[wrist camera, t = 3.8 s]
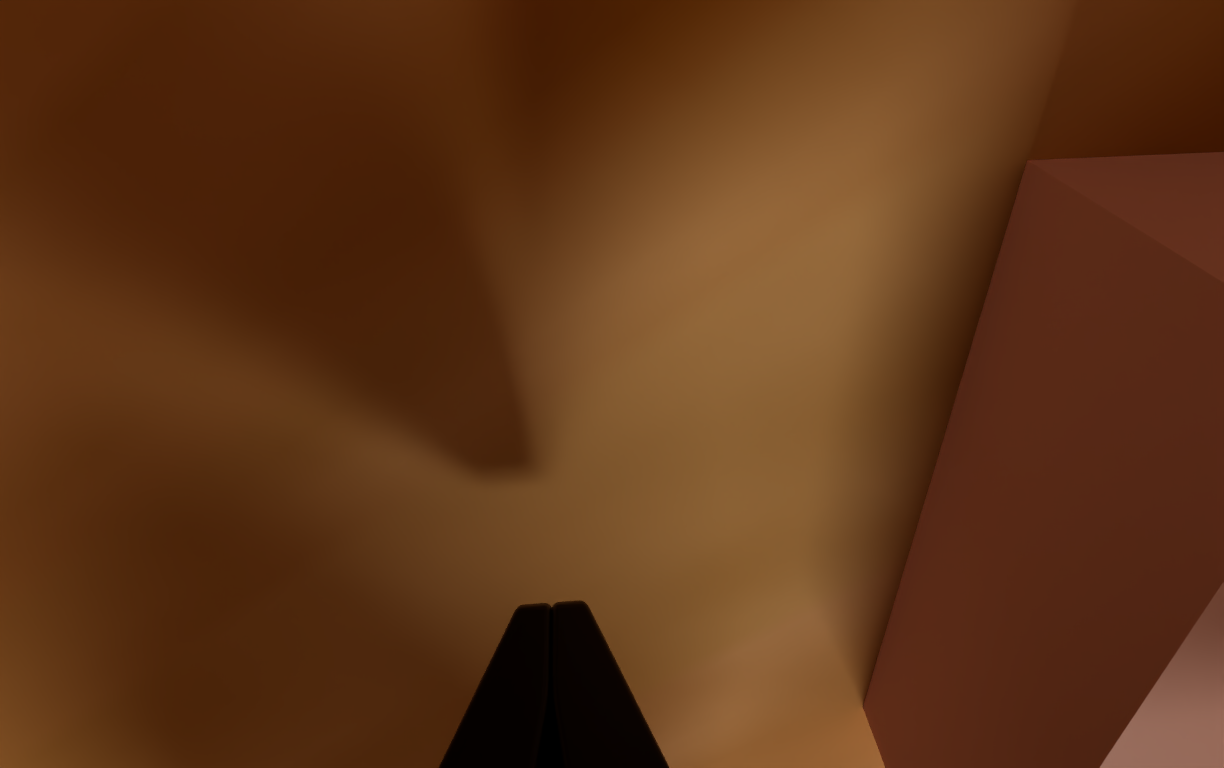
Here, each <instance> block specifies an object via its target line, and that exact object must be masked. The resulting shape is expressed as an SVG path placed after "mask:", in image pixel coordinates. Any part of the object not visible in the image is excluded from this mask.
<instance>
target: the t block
mask: <svg viewBox="0 0 1224 768" xmlns="http://www.w3.org/2000/svg"><path fill="white" fill-rule="evenodd" d="M863 709H864V711H865V714H866V717H867V719H868V722H869V725H870V727H871V730H872V733H873V735H874V738H875V741H876V743H877V746H878V749H879V751H880V754H881V757H882V760H883V762H884V765H885V768H1224V152H1208V153H1185V154H1161V155H1138V156H1114V157H1091V158H1067V159H1044V160H1027V162H1026V166H1025V169H1024V172H1023V176H1022V179H1021V182H1020V186H1019V189H1018V192H1017V196H1016V199H1015V202H1014V206H1013V209H1012V212H1011V216H1010V219H1009V222H1008V226H1007V229H1006V232H1005V236H1004V239H1003V242H1002V246H1001V249H1000V252H999V256H998V259H997V262H996V266H995V269H994V272H993V276H992V279H991V282H990V286H989V289H988V292H987V295H986V299H985V302H984V305H983V309H982V312H981V315H980V319H979V322H978V325H977V329H976V332H975V335H974V339H973V342H972V345H971V349H970V352H969V355H968V359H967V362H966V365H965V369H964V372H963V375H962V379H961V382H960V385H959V389H958V392H957V395H956V399H955V402H954V405H953V409H952V412H951V415H950V419H949V422H948V425H947V429H946V432H945V435H944V439H943V442H942V445H941V449H940V452H939V455H938V459H937V462H936V465H935V468H934V472H933V475H932V478H931V482H930V485H929V488H928V492H927V495H926V498H925V502H924V505H923V508H922V512H921V515H920V518H919V522H918V525H917V528H916V532H915V535H914V538H913V542H912V545H911V548H910V552H909V555H908V558H907V562H906V565H905V568H904V572H903V575H902V578H901V582H900V585H899V588H898V592H897V595H896V598H895V602H894V605H893V608H892V612H891V615H890V618H889V622H888V625H887V628H886V632H885V635H884V638H883V641H882V645H881V648H880V651H879V655H878V658H877V661H876V665H875V668H874V671H873V675H872V678H871V681H870V685H869V688H868V691H867V695H866V698H865V701H864V705H863Z"/></svg>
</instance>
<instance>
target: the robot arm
mask: <svg viewBox="0 0 1224 768" xmlns="http://www.w3.org/2000/svg"><path fill="white" fill-rule="evenodd" d="M439 768H669V766H668V764H667V762H666V760H665V758H664V756H663V754H662V752H661V750H660V748H659V746H658V744H657V742H656V740H655V738H654V736H653V734H652V732H651V730H650V728H649V726H648V724H647V722H646V720H645V718H644V716H643V714H642V712H641V710H640V708H639V706H638V704H637V702H636V700H635V698H634V696H633V694H632V692H631V690H630V688H629V686H628V684H627V682H626V680H625V678H624V676H623V674H622V672H621V670H620V668H619V666H618V664H617V662H616V660H615V658H614V656H613V654H612V652H611V650H610V648H609V646H608V644H607V642H606V640H605V638H604V636H603V634H602V632H601V630H600V628H599V626H598V624H597V622H596V620H595V618H594V616H593V614H592V612H591V610H590V608H589V607H588V605H587V604H586V603H585V602H584V601H566V602H557V603H555V604H554V605H553V607H551V606H550V605H549V604H547V603H539V604H525V605H520V606H519V607H518V608H517V609H516V610H515V612H514V613H513V615H512V617H511V620H510V622H509V624H508V626H507V628H506V630H505V632H504V634H503V636H502V638H501V640H500V642H499V644H498V646H497V648H496V650H495V653H494V655H493V657H492V659H491V661H490V663H489V665H488V667H487V669H486V671H485V673H484V675H483V677H482V679H481V681H480V683H479V685H478V688H477V690H476V692H475V694H474V696H473V698H472V700H471V702H470V704H469V706H468V708H467V710H466V712H465V714H464V716H463V718H462V720H461V723H460V725H459V727H458V729H457V731H456V733H455V735H454V737H453V739H452V741H451V743H450V745H449V747H448V749H447V751H446V753H445V756H444V758H443V760H442V762H441V764H440V766H439Z"/></svg>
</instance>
